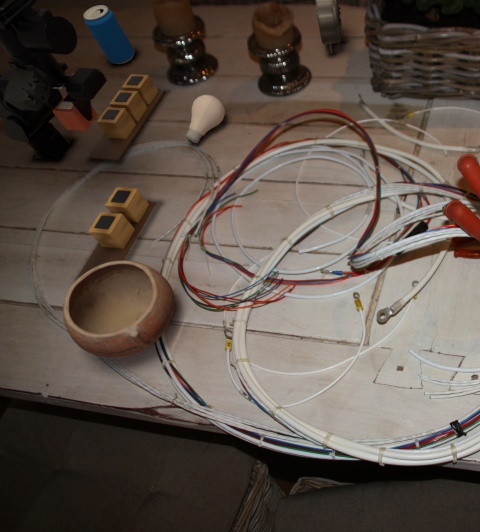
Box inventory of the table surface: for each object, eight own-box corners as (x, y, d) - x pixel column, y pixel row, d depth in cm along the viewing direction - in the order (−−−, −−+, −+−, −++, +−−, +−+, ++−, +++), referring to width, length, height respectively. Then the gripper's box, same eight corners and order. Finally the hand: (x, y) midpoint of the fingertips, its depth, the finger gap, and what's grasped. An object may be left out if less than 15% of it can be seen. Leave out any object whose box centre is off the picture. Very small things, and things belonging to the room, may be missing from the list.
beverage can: (141, 53, 134) (115, 7, 124) (122, 68, 131) (93, 22, 121) (124, 47, 136) (97, 1, 127) (105, 62, 134) (75, 16, 124)
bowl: (161, 374, 83) (127, 346, 75) (73, 362, 86) (31, 334, 78) (199, 288, 92) (172, 254, 84) (117, 280, 95) (83, 246, 87)
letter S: (66, 129, 104) (51, 110, 100) (79, 113, 107) (64, 94, 103) (86, 131, 103) (71, 111, 99) (98, 115, 106) (84, 95, 102)
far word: (90, 159, 114) (75, 140, 109) (138, 91, 125) (126, 71, 121) (119, 161, 112) (105, 142, 108) (165, 92, 124) (154, 72, 120)
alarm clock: (323, 31, 131) (306, -38, 117) (345, 27, 130) (331, -42, 117) (325, 58, 124) (307, -11, 111) (348, 54, 124) (333, -15, 111)
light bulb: (188, 134, 107) (215, 89, 109) (168, 130, 111) (195, 86, 113) (211, 153, 113) (236, 109, 115) (191, 148, 116) (216, 106, 118)
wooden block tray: (79, 278, 96) (60, 261, 92) (126, 201, 106) (111, 182, 101) (113, 282, 95) (96, 265, 90) (158, 204, 104) (144, 185, 100)
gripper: (-51, 74, 89) (15, 145, 102) (44, 79, 85) (100, 152, 98) (-10, 34, 95) (48, 105, 108) (81, 37, 91) (129, 110, 104)
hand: (80, 118), depth 104 cm, fingers closed on letter S, 4 cm apart
